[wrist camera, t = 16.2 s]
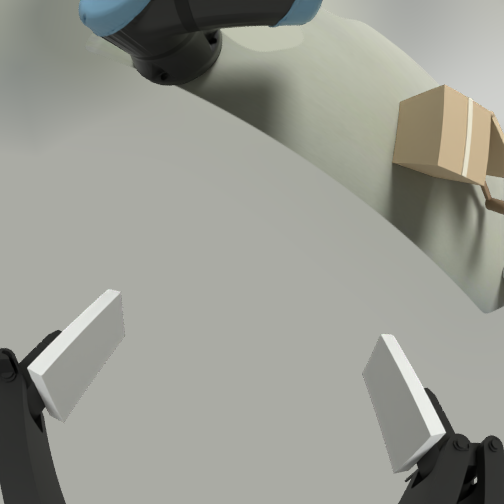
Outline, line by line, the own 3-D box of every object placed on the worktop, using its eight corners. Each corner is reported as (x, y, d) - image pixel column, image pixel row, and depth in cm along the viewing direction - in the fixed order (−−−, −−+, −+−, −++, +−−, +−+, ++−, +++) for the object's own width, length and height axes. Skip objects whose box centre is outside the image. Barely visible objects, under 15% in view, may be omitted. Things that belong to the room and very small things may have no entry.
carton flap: (440, 121, 36) (489, 114, 23) (448, 115, 35) (496, 108, 22) (482, 210, 40) (528, 226, 27) (488, 203, 39) (534, 218, 26)
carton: (400, 101, 36) (445, 83, 22) (441, 119, 36) (492, 111, 22) (392, 162, 39) (438, 165, 26) (434, 177, 39) (485, 186, 26)
